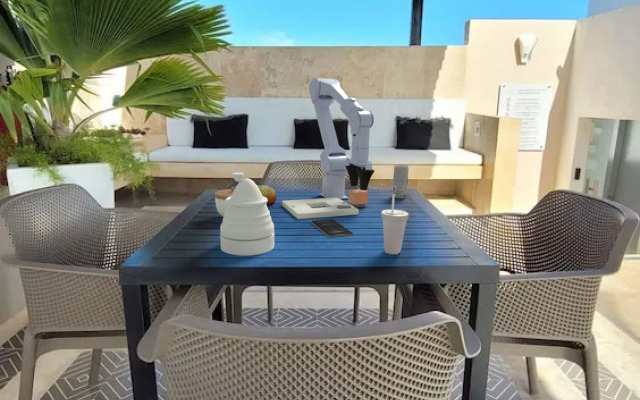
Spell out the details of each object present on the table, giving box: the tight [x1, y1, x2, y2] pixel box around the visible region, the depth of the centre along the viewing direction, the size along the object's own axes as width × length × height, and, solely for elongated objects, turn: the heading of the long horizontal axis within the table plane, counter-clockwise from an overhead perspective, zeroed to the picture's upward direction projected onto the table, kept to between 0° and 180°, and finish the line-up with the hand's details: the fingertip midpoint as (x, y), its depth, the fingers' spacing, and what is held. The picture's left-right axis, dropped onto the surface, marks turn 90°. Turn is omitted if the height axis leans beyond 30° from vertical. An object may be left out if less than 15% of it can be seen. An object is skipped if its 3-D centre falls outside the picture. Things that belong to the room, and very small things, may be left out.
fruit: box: [256, 184, 278, 206], centre depth 148 cm, size 11×10×8 cm
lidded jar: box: [214, 186, 236, 219], centre depth 129 cm, size 11×11×9 cm
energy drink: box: [391, 164, 409, 200], centre depth 161 cm, size 5×5×12 cm
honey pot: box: [219, 172, 275, 256], centre depth 103 cm, size 13×13×18 cm
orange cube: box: [347, 188, 369, 208], centre depth 147 cm, size 5×5×5 cm
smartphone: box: [310, 218, 354, 239], centre depth 120 cm, size 8×1×15 cm
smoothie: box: [380, 194, 410, 255], centre depth 101 cm, size 6×6×14 cm
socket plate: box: [281, 197, 360, 220], centre depth 141 cm, size 18×20×2 cm
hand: (358, 187), depth 146 cm, fingers open, 7 cm apart
